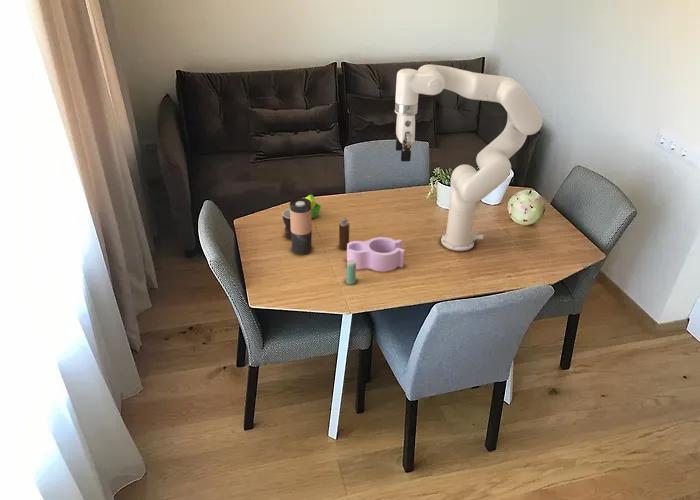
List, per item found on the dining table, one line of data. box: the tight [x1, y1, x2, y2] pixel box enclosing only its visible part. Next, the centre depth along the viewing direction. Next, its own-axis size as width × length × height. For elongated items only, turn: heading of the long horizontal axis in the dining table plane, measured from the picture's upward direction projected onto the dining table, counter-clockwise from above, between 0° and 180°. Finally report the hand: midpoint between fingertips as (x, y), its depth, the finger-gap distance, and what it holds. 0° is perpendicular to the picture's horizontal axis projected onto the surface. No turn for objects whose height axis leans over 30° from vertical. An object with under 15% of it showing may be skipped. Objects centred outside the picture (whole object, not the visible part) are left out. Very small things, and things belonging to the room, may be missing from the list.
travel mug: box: [289, 197, 313, 256], centre depth 216 cm, size 8×8×20 cm
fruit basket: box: [288, 194, 322, 220], centre depth 239 cm, size 11×9×11 cm
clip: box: [346, 236, 406, 273], centre depth 213 cm, size 20×12×7 cm, turn 96°
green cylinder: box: [345, 260, 357, 285], centre depth 201 cm, size 3×3×8 cm
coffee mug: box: [281, 208, 292, 241], centre depth 228 cm, size 12×9×10 cm
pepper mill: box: [338, 217, 350, 251], centre depth 220 cm, size 4×4×13 cm
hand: (402, 155), depth 206 cm, fingers open, 9 cm apart
